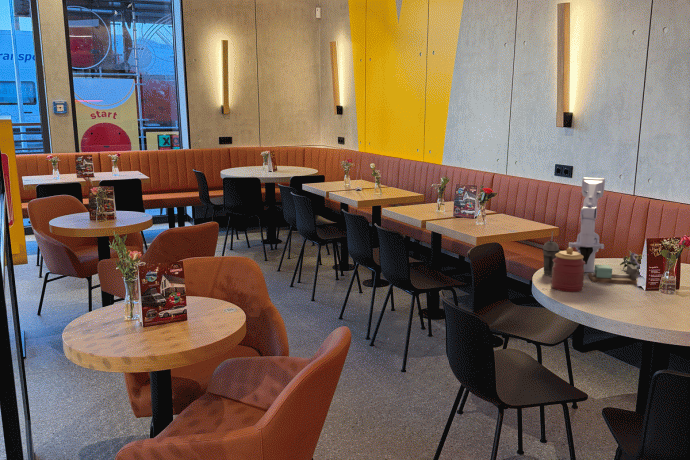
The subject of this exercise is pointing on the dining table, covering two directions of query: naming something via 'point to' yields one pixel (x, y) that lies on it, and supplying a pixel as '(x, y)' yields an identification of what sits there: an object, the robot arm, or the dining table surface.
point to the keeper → (603, 271)
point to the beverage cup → (549, 255)
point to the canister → (568, 271)
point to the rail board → (618, 277)
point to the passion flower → (632, 260)
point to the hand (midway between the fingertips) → (584, 263)
